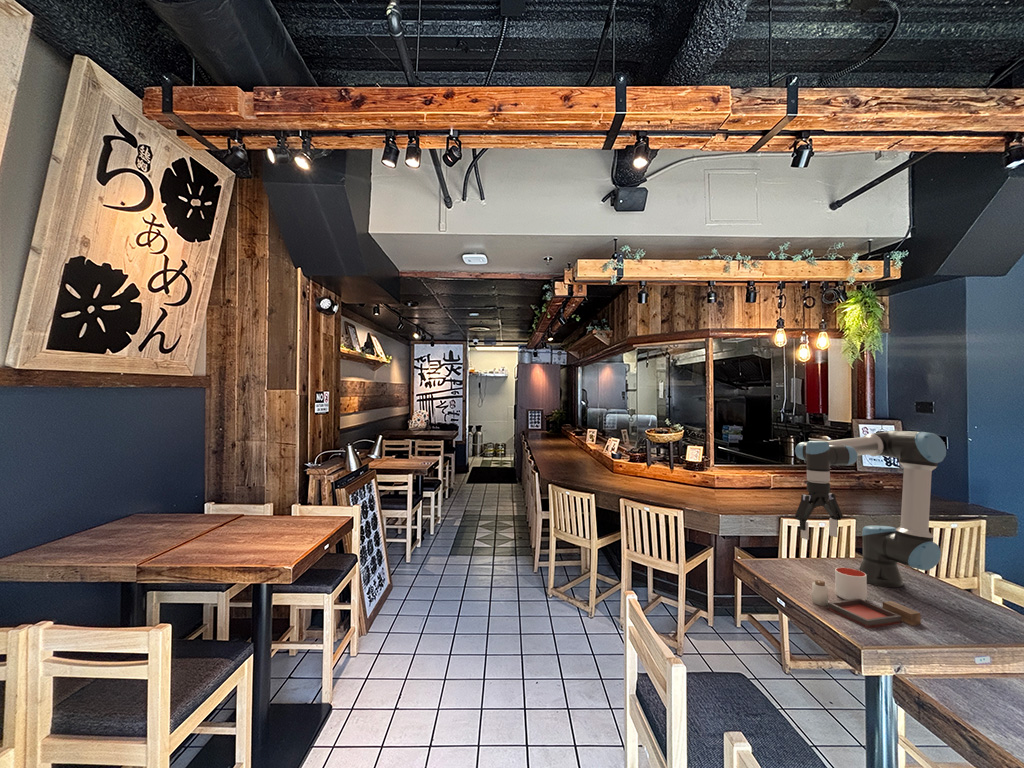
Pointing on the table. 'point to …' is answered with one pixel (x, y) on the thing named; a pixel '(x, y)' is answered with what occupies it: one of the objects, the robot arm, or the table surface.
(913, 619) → the box
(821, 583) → the ceramic jar
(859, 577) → the cup
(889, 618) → the tray
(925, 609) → the table surface
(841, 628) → the table surface
